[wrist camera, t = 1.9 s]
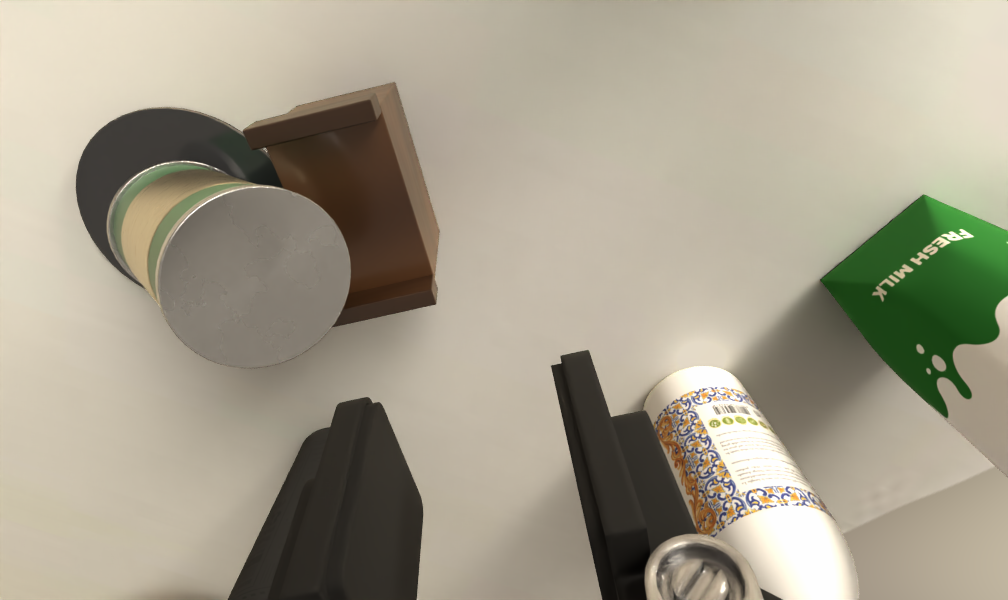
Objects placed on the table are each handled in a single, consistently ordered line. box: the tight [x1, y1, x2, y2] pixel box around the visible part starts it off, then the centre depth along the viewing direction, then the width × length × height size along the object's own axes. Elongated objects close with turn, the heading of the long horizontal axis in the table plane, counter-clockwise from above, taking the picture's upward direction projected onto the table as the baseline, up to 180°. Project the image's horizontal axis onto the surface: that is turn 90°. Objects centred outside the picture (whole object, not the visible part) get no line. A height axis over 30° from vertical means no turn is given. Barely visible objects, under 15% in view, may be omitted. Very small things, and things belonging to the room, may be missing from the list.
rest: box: [243, 82, 440, 327], centre depth 27 cm, size 9×5×7 cm, turn 12°
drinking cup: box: [228, 428, 330, 600], centre depth 30 cm, size 8×8×20 cm
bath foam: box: [643, 366, 859, 600], centre depth 30 cm, size 7×7×20 cm
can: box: [107, 160, 351, 368], centre depth 24 cm, size 7×12×13 cm, turn 102°
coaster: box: [76, 107, 283, 289], centre depth 30 cm, size 11×11×1 cm
